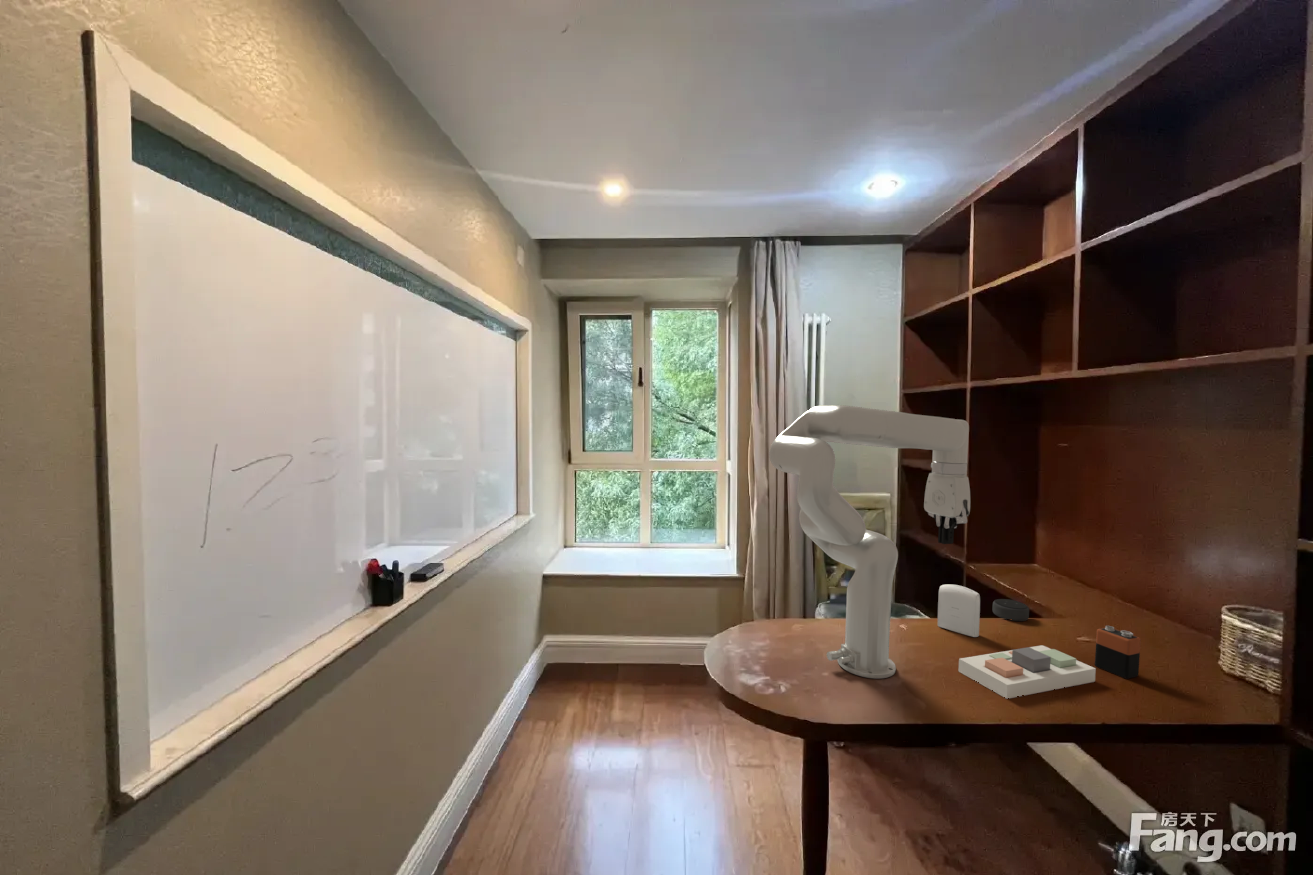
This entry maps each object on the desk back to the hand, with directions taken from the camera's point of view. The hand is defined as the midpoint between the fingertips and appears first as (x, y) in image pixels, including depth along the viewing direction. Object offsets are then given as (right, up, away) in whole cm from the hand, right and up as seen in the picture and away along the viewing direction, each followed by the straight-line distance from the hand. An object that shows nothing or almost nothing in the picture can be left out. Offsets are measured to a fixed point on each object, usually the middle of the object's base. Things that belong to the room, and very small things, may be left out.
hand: (945, 542), depth 132 cm
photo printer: (+11, -27, +13) cm, 32 cm away
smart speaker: (+32, -27, +24) cm, 48 cm away
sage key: (+20, -27, -10) cm, 35 cm away
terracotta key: (+5, -27, -15) cm, 31 cm away
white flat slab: (+12, -28, -11) cm, 32 cm away
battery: (+35, -28, -8) cm, 46 cm away
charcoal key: (+12, -25, -12) cm, 31 cm away
